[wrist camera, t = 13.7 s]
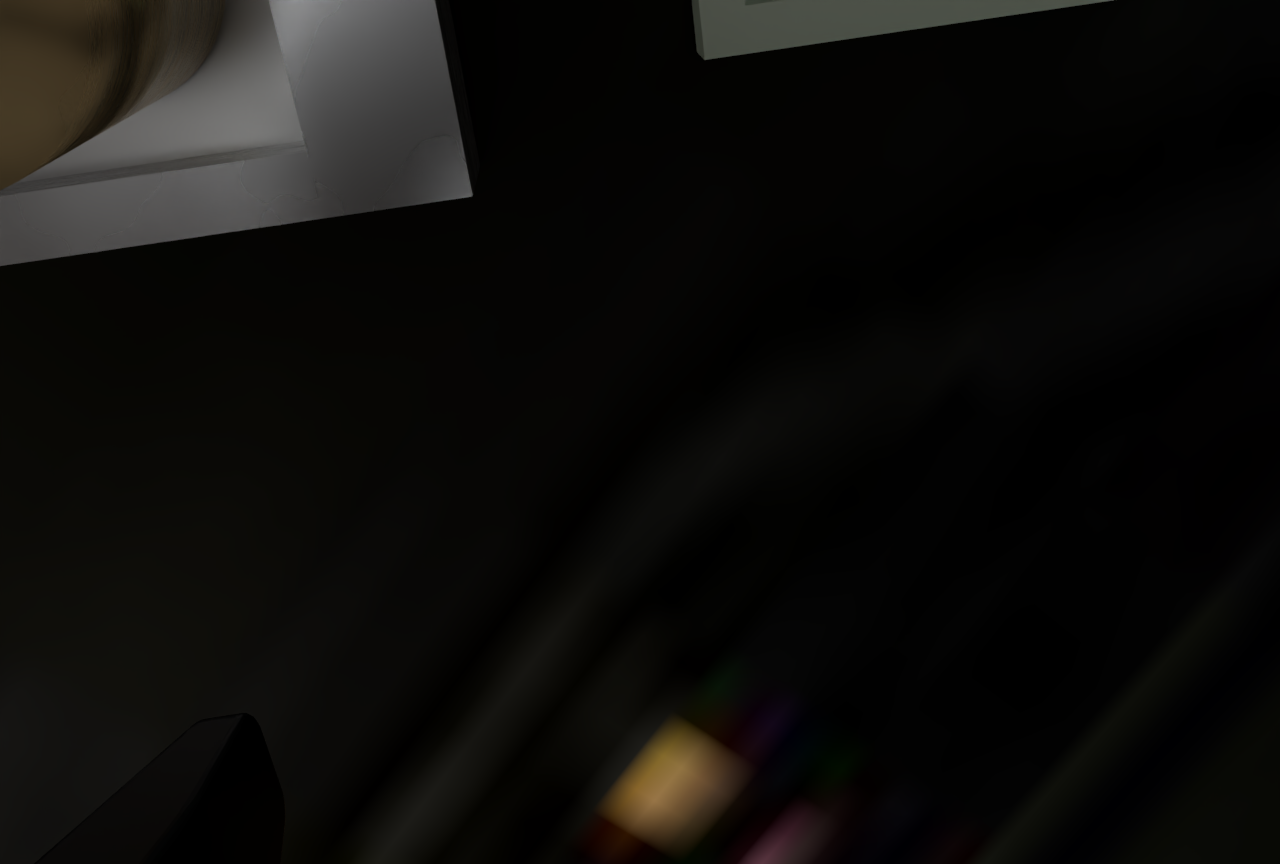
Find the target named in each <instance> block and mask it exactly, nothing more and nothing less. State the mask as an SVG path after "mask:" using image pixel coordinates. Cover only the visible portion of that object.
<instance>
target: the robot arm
mask: <svg viewBox="0 0 1280 864" xmlns="http://www.w3.org/2000/svg"><path fill="white" fill-rule="evenodd" d="M284 827H285V804H284V797H283V792H282V789H281V786H280V783H279V780H278V777H277V774H276V771H275V768H274V766H273V763H272V760H271V757H270V754H269V751H268V748H267V745H266V742H265V739H264V736H263V733H262V730H261V728H260V726H259V724H258V722H257V721H256V720H255V718H254V717H253V716H251V715H249V714H247V713H241V714H234V715H227V716H221V717H214V718H208V719H203V720H200V721H198V722H196V723H195V724H194V725H192V726H191V727H190V728H189V729H188V730H187V731H185V732H184V733H183V734H182V735H181V736H180V737H179V738H177V739H176V740H175V741H174V742H173V743H172V744H171V745H169V746H168V747H167V748H166V749H165V750H164V751H163V752H161V753H160V754H159V755H158V756H157V757H156V758H155V759H153V760H152V761H151V762H150V763H149V764H148V765H147V766H145V767H144V768H143V769H142V770H141V771H140V772H139V773H137V774H136V775H135V776H134V777H133V778H132V779H131V780H129V781H128V782H127V783H126V784H125V785H124V786H123V787H121V788H120V789H119V790H118V791H117V792H116V793H115V794H113V795H112V796H111V797H110V798H109V799H108V800H107V801H105V802H104V803H103V804H102V805H101V806H100V807H99V808H97V809H96V810H95V811H94V812H93V813H92V814H91V815H89V816H88V817H87V818H86V819H85V820H84V821H82V822H81V823H80V824H79V825H78V826H77V827H76V828H74V829H73V830H72V831H71V832H70V833H69V834H68V835H66V836H65V837H64V838H63V839H62V840H61V841H60V842H58V843H57V844H56V845H55V846H54V847H53V848H52V849H50V850H49V851H48V852H47V853H46V854H45V855H44V856H42V857H41V858H40V859H39V860H38V861H37V862H36V863H34V864H280V863H281V854H282V845H283V836H284Z"/></svg>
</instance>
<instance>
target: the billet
mask: <svg viewBox="0 0 1280 864" xmlns="http://www.w3.org/2000/svg"><path fill="white" fill-rule="evenodd" d="M224 9H225V0H0V190H2V189H4V188H6V187H8V186H10V185H12V184H14V183H16V182H18V181H19V180H21V179H23V178H25V177H26V176H28V175H30V174H32V173H33V172H35V171H37V170H38V169H40V168H42V167H44V166H45V165H47V164H49V163H51V162H52V161H54V160H56V159H57V158H59V157H61V156H63V155H64V154H66V153H68V152H69V151H71V150H73V149H75V148H76V147H78V146H80V145H82V144H83V143H85V142H87V141H88V140H90V139H92V138H94V137H95V136H97V135H99V134H101V133H102V132H104V131H106V130H107V129H109V128H111V127H113V126H114V125H116V124H118V123H119V122H121V121H123V120H125V119H126V118H128V117H130V116H132V115H133V114H135V113H137V112H138V111H140V110H142V109H144V108H145V107H147V106H149V105H151V104H152V103H154V102H156V101H157V100H159V99H161V98H163V97H164V96H166V95H168V94H169V93H171V92H173V91H174V90H175V89H177V88H178V87H180V86H181V85H182V84H184V83H185V82H186V81H187V80H188V79H189V78H190V77H191V76H192V75H193V74H194V73H195V72H196V71H197V70H198V69H199V67H200V66H201V65H202V63H203V62H204V61H205V59H206V58H207V56H208V54H209V52H210V51H211V49H212V47H213V45H214V43H215V41H216V38H217V35H218V32H219V30H220V27H221V23H222V18H223V13H224Z"/></svg>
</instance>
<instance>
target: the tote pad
mask: <svg viewBox="0 0 1280 864" xmlns="http://www.w3.org/2000/svg"><path fill="white" fill-rule="evenodd" d="M1105 1H1112V0H692V9H693V18H694V28H695V38H696V47H697V53H698V54H699V55H700V56H701V57H702V58H703V59H704V60H707V59H714V58H721V57H728V56H735V55H742V54H749V53H755V52H762V51H769V50H776V49H783V48H790V47H797V46H803V45H810V44H817V43H824V42H831V41H838V40H845V39H851V38H858V37H865V36H872V35H879V34H886V33H893V32H899V31H906V30H913V29H920V28H927V27H934V26H941V25H947V24H954V23H961V22H968V21H975V20H982V19H988V18H995V17H1002V16H1009V15H1016V14H1023V13H1030V12H1036V11H1043V10H1050V9H1057V8H1064V7H1071V6H1078V5H1084V4H1091V3H1098V2H1105Z"/></svg>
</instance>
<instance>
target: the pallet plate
mask: <svg viewBox="0 0 1280 864" xmlns="http://www.w3.org/2000/svg"><path fill="white" fill-rule="evenodd" d="M479 169H480V162H479V156H478V151H477V146H476V140H475V135H474V130H473V124H472V119H471V114H470V109H469V103H468V98H467V93H466V87H465V82H464V77H463V72H462V66H461V61H460V56H459V50H458V45H457V40H456V34H455V29H454V24H453V19H452V13H451V8H450V3H449V0H225V9H224V13H223V18H222V23H221V27H220V30H219V32H218V35H217V38H216V41H215V43H214V45H213V47H212V49H211V51H210V52H209V54H208V56H207V58H206V59H205V61H204V62H203V63H202V65H201V66H200V67H199V69H198V70H197V71H196V72H195V73H194V74H193V75H192V76H191V77H190V78H189V79H188V80H187V81H186V82H185V83H184V84H182V85H181V86H180V87H178V88H177V89H175V90H174V91H173V92H171V93H169V94H168V95H166V96H164V97H163V98H161V99H159V100H157V101H156V102H154V103H152V104H151V105H149V106H147V107H145V108H144V109H142V110H140V111H138V112H137V113H135V114H133V115H132V116H130V117H128V118H126V119H125V120H123V121H121V122H119V123H118V124H116V125H114V126H113V127H111V128H109V129H107V130H106V131H104V132H102V133H101V134H99V135H97V136H95V137H94V138H92V139H90V140H88V141H87V142H85V143H83V144H82V145H80V146H78V147H76V148H75V149H73V150H71V151H69V152H68V153H66V154H64V155H63V156H61V157H59V158H57V159H56V160H54V161H52V162H51V163H49V164H47V165H45V166H44V167H42V168H40V169H38V170H37V171H35V172H33V173H32V174H30V175H28V176H26V177H25V178H23V179H21V180H19V181H18V182H16V183H14V184H12V185H10V186H8V187H6V188H4V189H2V190H0V266H3V265H10V264H17V263H23V262H30V261H37V260H44V259H51V258H57V257H64V256H71V255H78V254H85V253H91V252H98V251H105V250H112V249H119V248H125V247H132V246H139V245H146V244H153V243H159V242H166V241H173V240H180V239H187V238H193V237H200V236H207V235H214V234H221V233H227V232H234V231H241V230H248V229H255V228H261V227H268V226H275V225H282V224H289V223H295V222H302V221H309V220H316V219H323V218H329V217H336V216H343V215H350V214H357V213H363V212H370V211H377V210H384V209H391V208H397V207H404V206H411V205H418V204H425V203H431V202H438V201H445V200H452V199H459V198H465V197H472V196H473V194H474V189H475V185H476V181H477V177H478V173H479Z"/></svg>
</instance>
